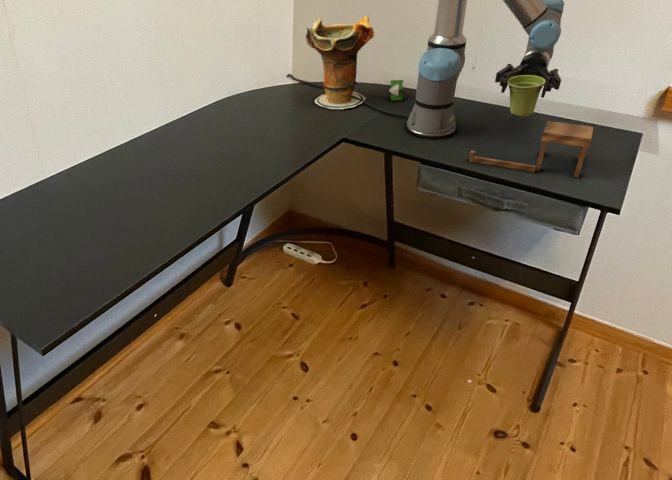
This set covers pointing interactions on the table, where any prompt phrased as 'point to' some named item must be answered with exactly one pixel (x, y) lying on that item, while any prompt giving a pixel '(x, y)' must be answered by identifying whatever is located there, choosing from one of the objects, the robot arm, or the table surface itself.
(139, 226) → the table surface
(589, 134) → the plant stand
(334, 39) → the decorative vase
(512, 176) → the table surface
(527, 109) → the plant pot
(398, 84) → the geometric puzzle
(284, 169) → the table surface
